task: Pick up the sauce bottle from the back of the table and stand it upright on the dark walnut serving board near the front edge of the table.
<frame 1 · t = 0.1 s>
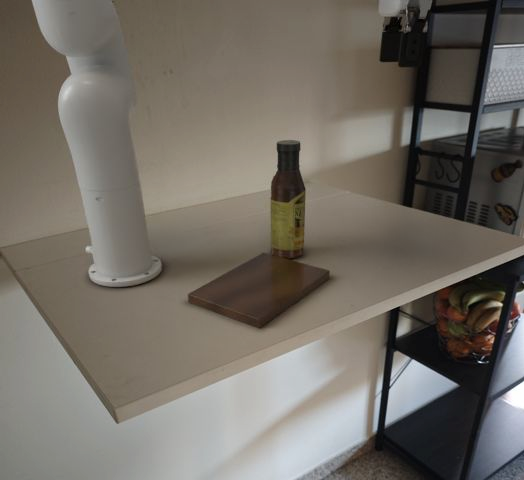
hand: (399, 64, 73), 31 cm above the table, tool pointing down, fingers open, 9 cm apart
serving board: (261, 290, 82), on the table
sauce bottle: (287, 254, 94), on the table
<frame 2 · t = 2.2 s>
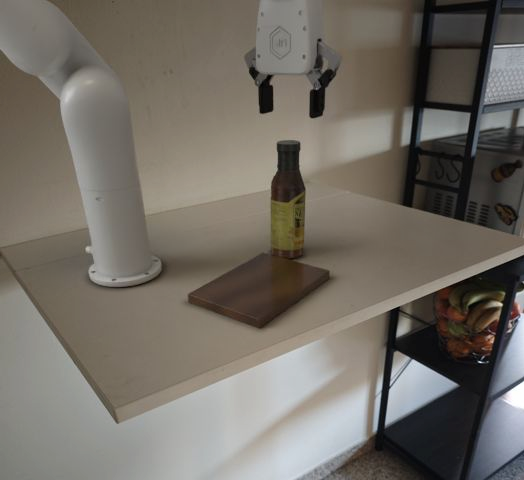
hand: (290, 114, 81), 24 cm above the table, tool pointing down, fingers open, 9 cm apart
nothing on the table moved.
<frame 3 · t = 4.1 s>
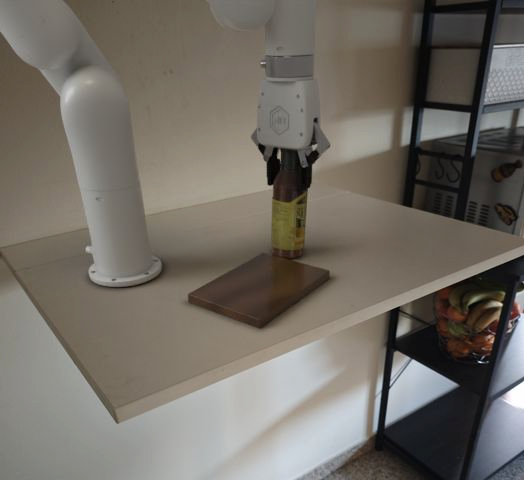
hand: (288, 185, 87), 13 cm above the table, tool pointing down, fingers closed on sauce bottle, 5 cm apart
sauce bottle: (287, 254, 94), on the table, touching gripper
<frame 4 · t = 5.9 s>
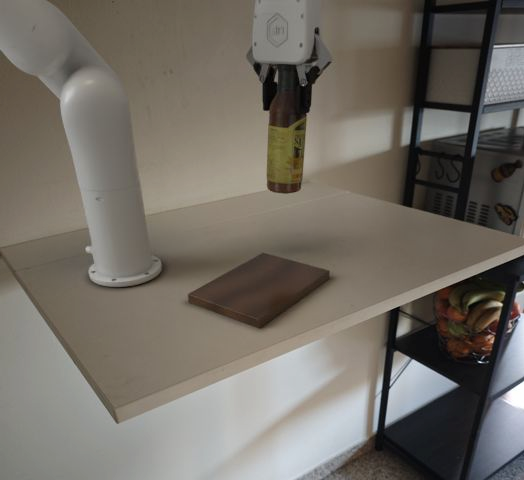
hand: (286, 110, 80), 25 cm above the table, tool pointing down, fingers closed on sauce bottle, 5 cm apart
sauce bottle: (283, 190, 87), point 12 cm above the table, touching gripper
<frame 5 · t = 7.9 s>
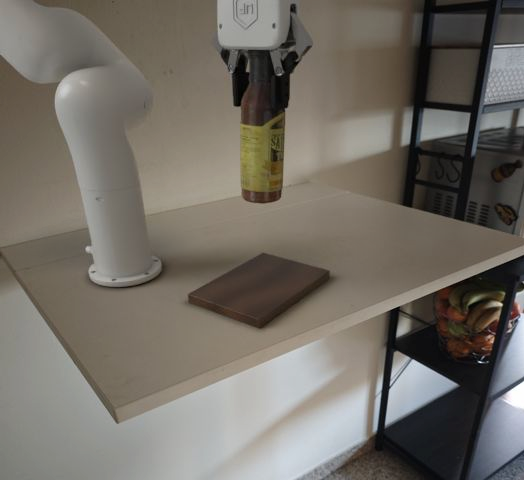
hand: (260, 105, 68), 27 cm above the table, tool pointing down, fingers closed on sauce bottle, 5 cm apart
sauce bottle: (261, 199, 75), point 14 cm above the table, touching gripper
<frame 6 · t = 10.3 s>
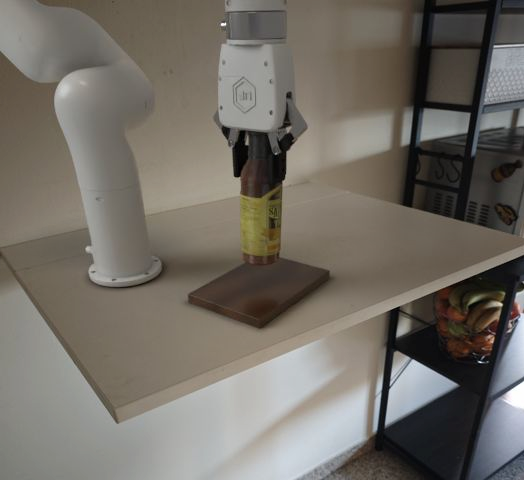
hand: (259, 177, 72), 18 cm above the table, tool pointing down, fingers closed on sauce bottle, 5 cm apart
sauce bottle: (260, 260, 79), point 5 cm above the table, touching gripper
when the fingers open (14 cm above the table, at t = 11.9 s): sauce bottle stays where it is, resting on serving board.
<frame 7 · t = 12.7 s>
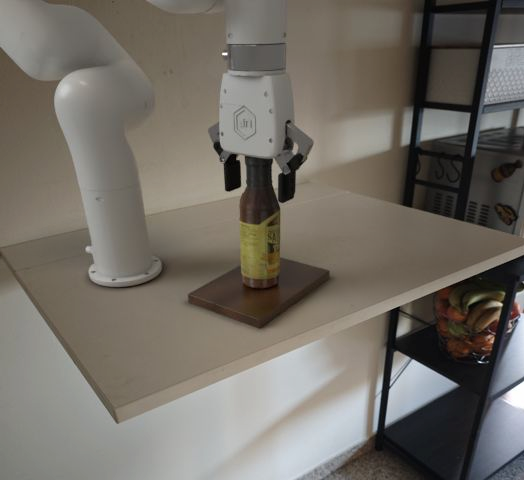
hand: (258, 194, 73), 16 cm above the table, tool pointing down, fingers open, 9 cm apart
sauce bottle: (261, 282, 81), point 1 cm above the table, touching serving board
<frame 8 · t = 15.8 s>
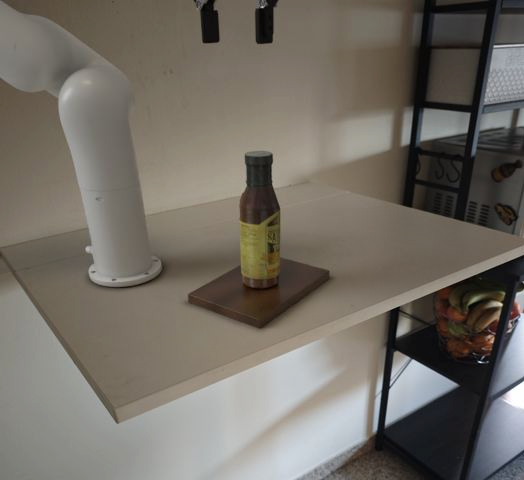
hand: (236, 43, 71), 34 cm above the table, tool pointing down, fingers open, 9 cm apart
nothing on the table moved.
at the end: sauce bottle inside the target area on the serving board (0.1 cm from its centre), point 1.3 cm above the serving board's base; sauce bottle tilted 0°; the gripper is holding nothing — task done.
